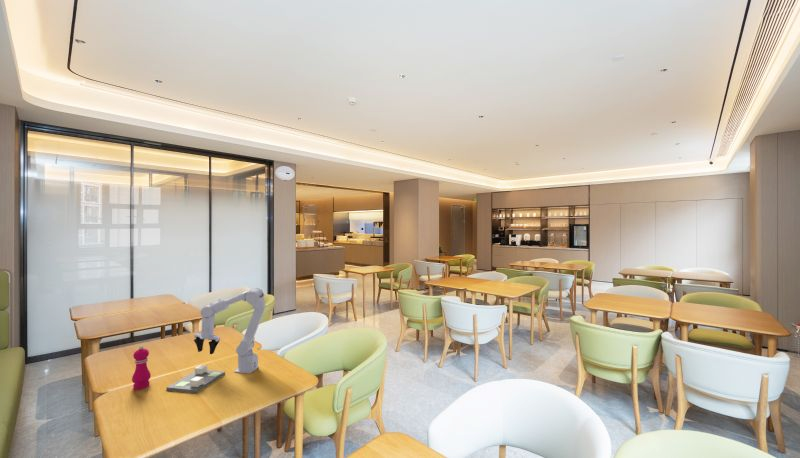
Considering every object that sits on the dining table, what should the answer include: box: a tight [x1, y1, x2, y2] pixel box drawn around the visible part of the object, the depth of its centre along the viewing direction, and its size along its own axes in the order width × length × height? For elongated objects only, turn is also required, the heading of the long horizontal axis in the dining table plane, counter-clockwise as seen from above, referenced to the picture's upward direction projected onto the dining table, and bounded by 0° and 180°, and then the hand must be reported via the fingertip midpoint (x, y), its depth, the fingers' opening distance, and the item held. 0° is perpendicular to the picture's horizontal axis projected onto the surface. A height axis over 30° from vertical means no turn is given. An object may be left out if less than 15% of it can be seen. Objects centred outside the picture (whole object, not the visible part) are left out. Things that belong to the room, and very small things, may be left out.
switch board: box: [166, 369, 226, 394], centre depth 168 cm, size 16×20×2 cm
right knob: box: [194, 364, 208, 375], centre depth 175 cm, size 4×4×3 cm
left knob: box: [190, 376, 204, 387], centre depth 162 cm, size 4×4×3 cm
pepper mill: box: [131, 345, 151, 391], centre depth 163 cm, size 7×7×20 cm
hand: (206, 352), depth 181 cm, fingers open, 7 cm apart
